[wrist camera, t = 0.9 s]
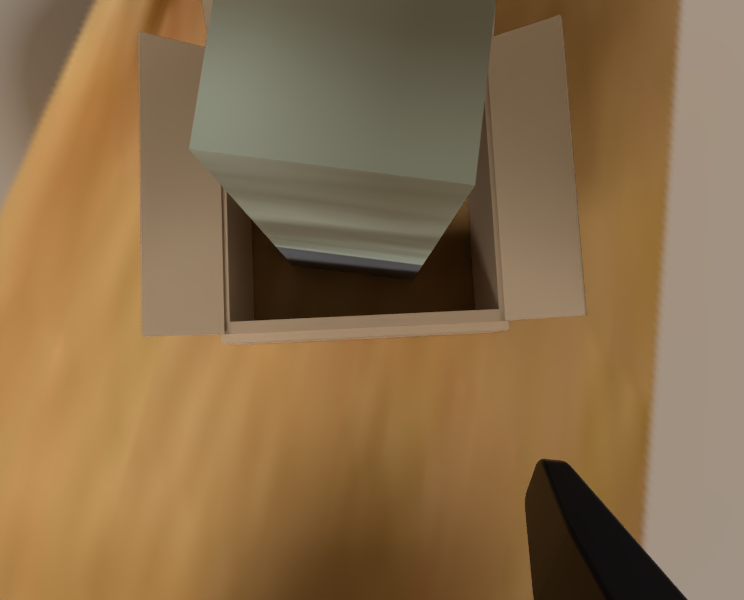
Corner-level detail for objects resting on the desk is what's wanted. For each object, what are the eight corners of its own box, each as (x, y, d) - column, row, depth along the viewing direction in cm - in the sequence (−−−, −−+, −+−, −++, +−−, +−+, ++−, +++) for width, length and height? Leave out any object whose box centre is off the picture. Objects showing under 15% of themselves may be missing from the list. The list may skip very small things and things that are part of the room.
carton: (536, 330, 22) (590, 324, 17) (194, 347, 22) (138, 346, 17) (515, 45, 23) (559, -46, 18) (188, 59, 23) (134, -29, 18)
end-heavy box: (412, 280, 22) (475, 185, 9) (292, 264, 22) (189, 148, 9) (427, 162, 23) (504, -83, 10) (308, 147, 23) (232, -116, 10)
